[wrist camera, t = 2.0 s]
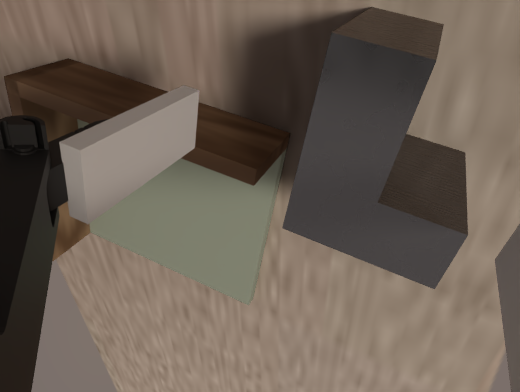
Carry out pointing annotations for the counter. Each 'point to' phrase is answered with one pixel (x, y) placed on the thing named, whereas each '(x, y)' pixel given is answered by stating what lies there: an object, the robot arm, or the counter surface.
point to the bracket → (379, 154)
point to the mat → (197, 224)
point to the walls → (121, 100)
